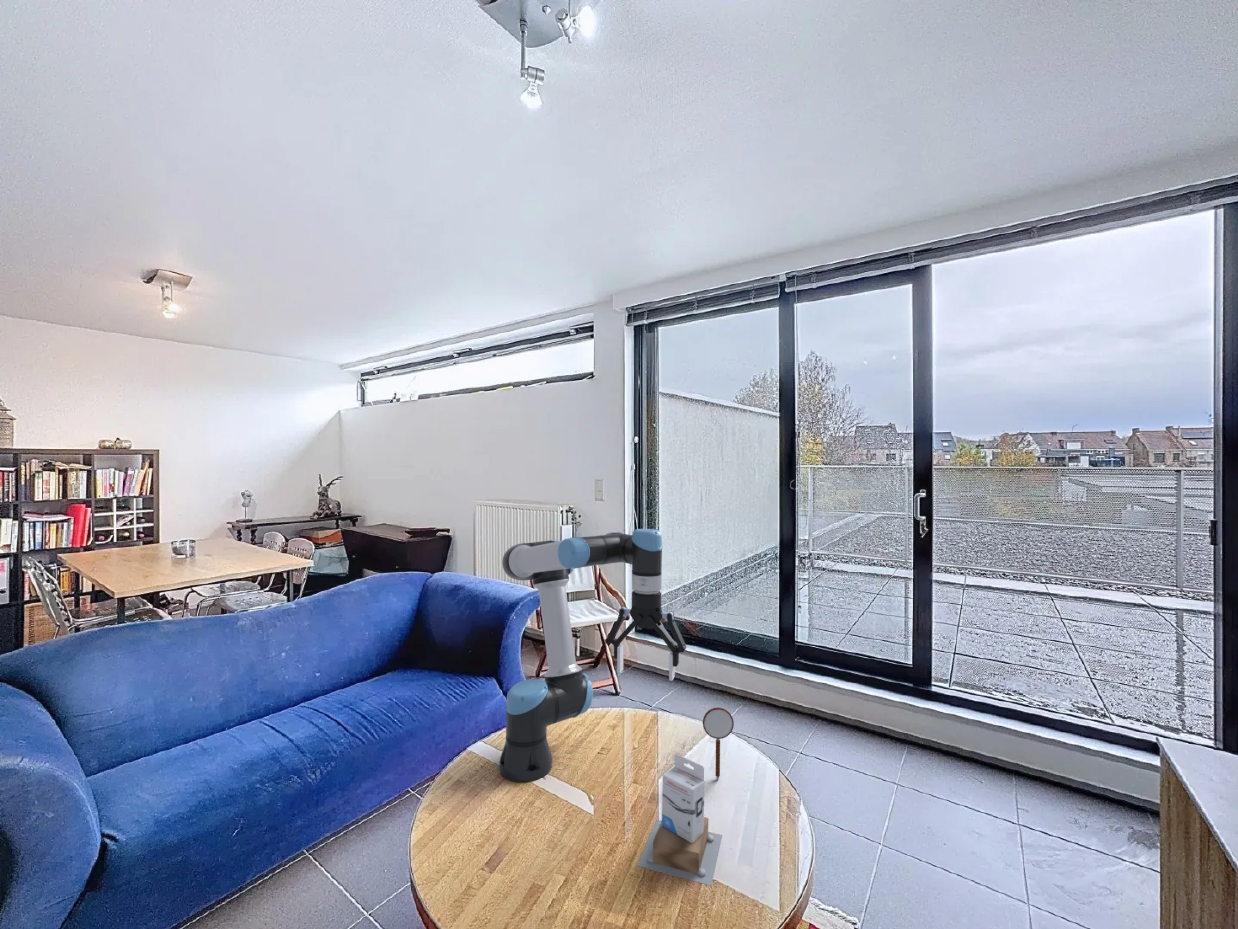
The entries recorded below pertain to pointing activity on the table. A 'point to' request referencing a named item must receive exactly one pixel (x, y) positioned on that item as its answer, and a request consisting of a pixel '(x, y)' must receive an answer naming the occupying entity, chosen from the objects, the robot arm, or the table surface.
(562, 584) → the robot arm
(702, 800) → the ink box
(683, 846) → the base brick
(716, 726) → the magnifying glass
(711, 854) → the plate
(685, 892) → the table surface
